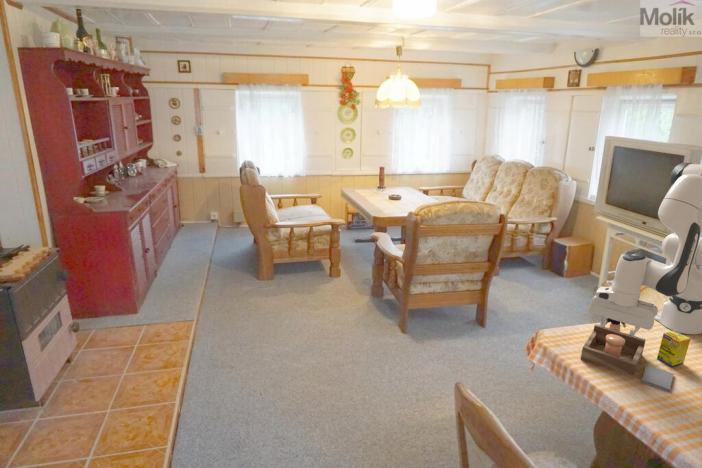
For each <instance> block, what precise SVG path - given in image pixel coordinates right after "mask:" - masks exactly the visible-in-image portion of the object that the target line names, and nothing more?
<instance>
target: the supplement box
mask: <svg viewBox="0 0 702 468" xmlns="http://www.w3.org/2000/svg"><path fill="white" fill-rule="evenodd" d="M690 342H691V337H688V336H686V335H684V334H683V333H680V332H677V331H675V330H671V331H668V332H664V333H663V335H662V338H661V341H660V345H659V349H658V353H657V358H656V359H657V360H658V361H661V362H663V363H665V364H666V365H667V366H669V367H671V368H675V367H678V366H681V365H683V364H684V363H685V359H686V356H687V353H688V348H689V346H690Z"/></svg>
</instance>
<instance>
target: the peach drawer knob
mask: <svg viewBox="0 0 702 468" xmlns="http://www.w3.org/2000/svg"><path fill="white" fill-rule="evenodd" d="M605 340H606V346H604V351H603V352H604V353H607V354H611V355H614V356H617V357H620V358H621V355H622V351H621V350H622V346H624V345H625V339H624V338H622V337H620V336H618V335H614V334H608V335H606V339H605Z"/></svg>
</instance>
